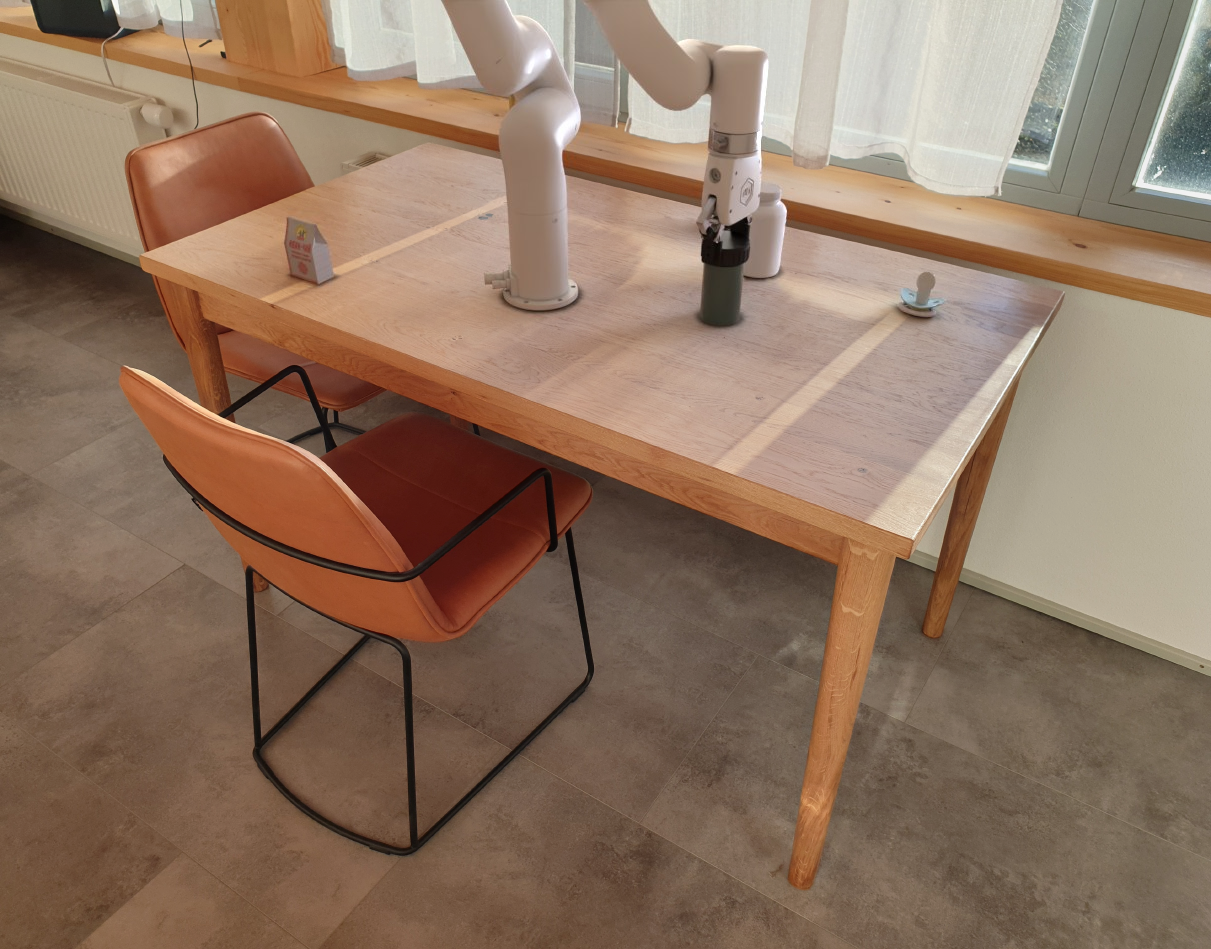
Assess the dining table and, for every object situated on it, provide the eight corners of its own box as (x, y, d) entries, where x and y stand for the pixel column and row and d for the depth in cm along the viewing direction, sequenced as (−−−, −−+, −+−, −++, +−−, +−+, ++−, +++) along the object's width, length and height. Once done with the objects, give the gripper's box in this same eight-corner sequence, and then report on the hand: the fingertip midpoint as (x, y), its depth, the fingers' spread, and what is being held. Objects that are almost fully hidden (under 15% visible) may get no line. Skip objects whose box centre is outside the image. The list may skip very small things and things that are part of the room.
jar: (704, 327, 149) (710, 253, 141) (695, 309, 154) (700, 237, 146) (743, 324, 149) (751, 251, 142) (733, 307, 155) (740, 235, 147)
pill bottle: (778, 281, 163) (788, 196, 154) (732, 277, 164) (739, 193, 155) (780, 263, 169) (790, 180, 160) (736, 259, 170) (743, 177, 161)
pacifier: (931, 323, 150) (946, 309, 154) (939, 288, 146) (954, 274, 150) (889, 310, 154) (904, 297, 158) (895, 276, 150) (911, 262, 154)
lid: (757, 255, 146) (759, 238, 144) (733, 270, 141) (734, 253, 140) (716, 243, 150) (718, 226, 148) (691, 258, 145) (692, 241, 143)
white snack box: (306, 268, 166) (295, 213, 161) (334, 276, 164) (323, 221, 158) (290, 275, 164) (279, 220, 158) (318, 284, 161) (307, 228, 155)
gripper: (725, 160, 128) (715, 280, 138) (786, 130, 139) (773, 244, 149) (679, 150, 131) (673, 268, 142) (742, 122, 142) (732, 233, 153)
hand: (724, 255), depth 145 cm, fingers closed on lid, 7 cm apart
